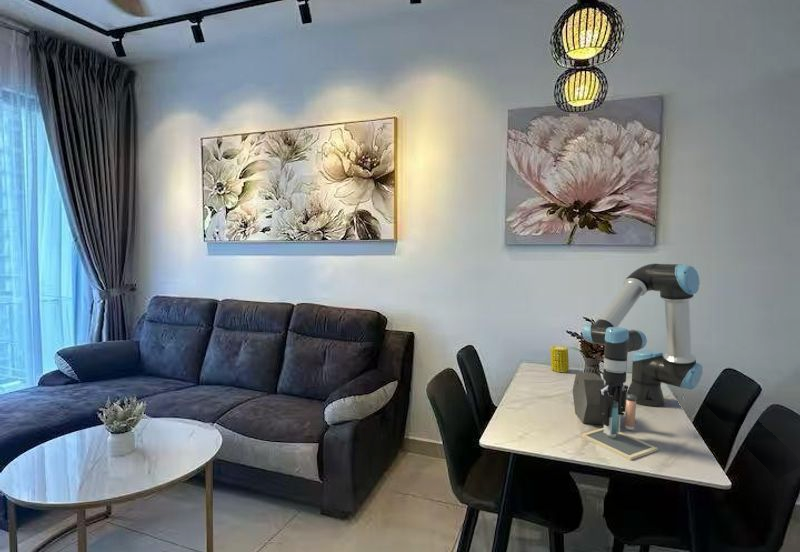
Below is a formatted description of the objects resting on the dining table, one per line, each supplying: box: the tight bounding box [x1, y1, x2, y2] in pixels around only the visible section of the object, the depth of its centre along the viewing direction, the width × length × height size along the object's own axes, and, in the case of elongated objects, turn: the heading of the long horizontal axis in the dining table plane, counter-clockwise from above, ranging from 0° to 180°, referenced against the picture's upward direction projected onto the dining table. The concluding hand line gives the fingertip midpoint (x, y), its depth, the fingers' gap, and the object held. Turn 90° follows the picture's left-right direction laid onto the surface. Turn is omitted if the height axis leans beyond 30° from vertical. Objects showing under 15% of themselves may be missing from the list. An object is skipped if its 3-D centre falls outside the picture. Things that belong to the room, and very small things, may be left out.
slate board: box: [579, 427, 659, 461], centre depth 152 cm, size 15×19×1 cm
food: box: [549, 344, 570, 373], centre depth 241 cm, size 15×12×10 cm
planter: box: [572, 371, 605, 425], centre depth 173 cm, size 17×8×21 cm
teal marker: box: [607, 401, 619, 438], centre depth 155 cm, size 4×4×13 cm
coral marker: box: [624, 394, 637, 431], centre depth 164 cm, size 4×4×13 cm
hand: (611, 432), depth 156 cm, fingers open, 4 cm apart
